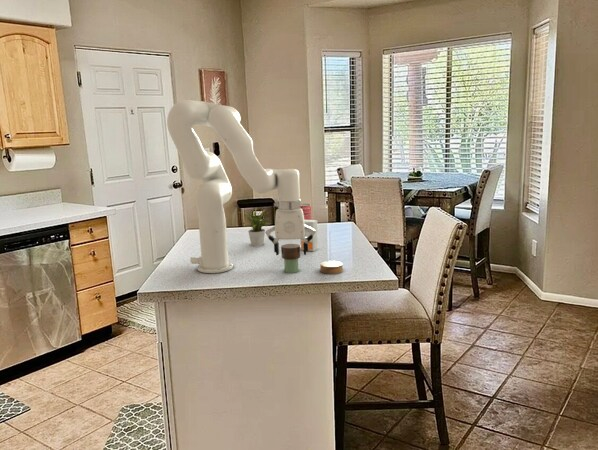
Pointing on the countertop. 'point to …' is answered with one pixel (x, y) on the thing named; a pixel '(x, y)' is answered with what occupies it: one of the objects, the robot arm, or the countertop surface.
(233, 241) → the countertop surface
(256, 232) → the house plant
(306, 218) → the soda can
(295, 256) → the brown round canister
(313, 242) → the cosmetic box
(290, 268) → the plastic cup
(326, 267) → the oak chip
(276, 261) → the countertop surface
